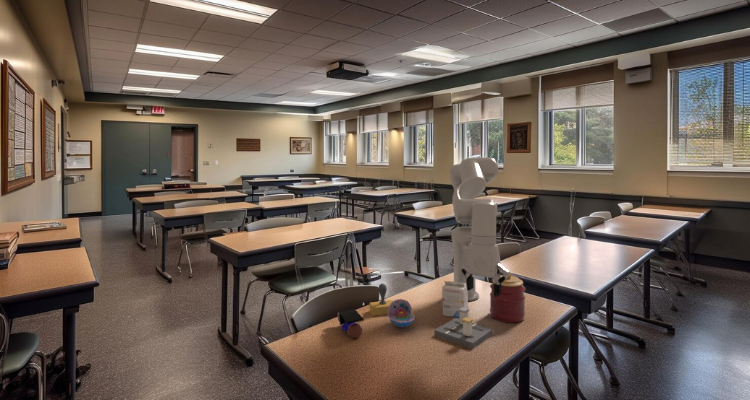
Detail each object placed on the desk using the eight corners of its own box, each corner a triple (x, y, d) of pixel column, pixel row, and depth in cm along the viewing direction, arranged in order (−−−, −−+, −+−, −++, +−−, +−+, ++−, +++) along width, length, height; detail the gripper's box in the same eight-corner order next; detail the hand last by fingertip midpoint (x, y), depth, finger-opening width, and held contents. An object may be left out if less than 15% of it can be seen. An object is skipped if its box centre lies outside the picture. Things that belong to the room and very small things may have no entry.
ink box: (468, 310, 157) (468, 278, 155) (464, 318, 149) (464, 285, 148) (447, 308, 160) (447, 276, 159) (442, 315, 153) (442, 282, 152)
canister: (482, 314, 153) (483, 270, 151) (506, 307, 159) (506, 266, 157) (507, 326, 142) (508, 279, 140) (532, 318, 148) (533, 273, 146)
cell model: (395, 334, 137) (394, 308, 136) (383, 321, 149) (383, 297, 148) (420, 330, 140) (420, 304, 139) (407, 317, 152) (407, 293, 151)
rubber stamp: (392, 308, 162) (392, 280, 160) (396, 313, 156) (396, 284, 155) (369, 311, 159) (368, 282, 158) (372, 316, 154) (372, 287, 152)
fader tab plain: (458, 323, 139) (458, 309, 139) (462, 321, 141) (462, 307, 140) (465, 325, 137) (465, 311, 137) (468, 323, 139) (468, 308, 139)
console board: (434, 335, 136) (434, 329, 135) (455, 322, 146) (455, 317, 145) (473, 349, 125) (473, 342, 125) (492, 334, 135) (493, 328, 135)
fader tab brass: (462, 334, 130) (462, 319, 130) (466, 332, 132) (466, 317, 132) (469, 336, 128) (469, 321, 128) (472, 334, 130) (473, 319, 130)
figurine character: (336, 329, 146) (347, 342, 132) (335, 309, 146) (346, 319, 132) (353, 326, 148) (366, 338, 134) (352, 306, 148) (365, 316, 134)
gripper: (453, 238, 126) (453, 289, 128) (504, 245, 115) (503, 301, 116) (465, 235, 132) (465, 284, 134) (515, 241, 120) (514, 295, 122)
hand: (483, 292), depth 125 cm, fingers open, 9 cm apart
